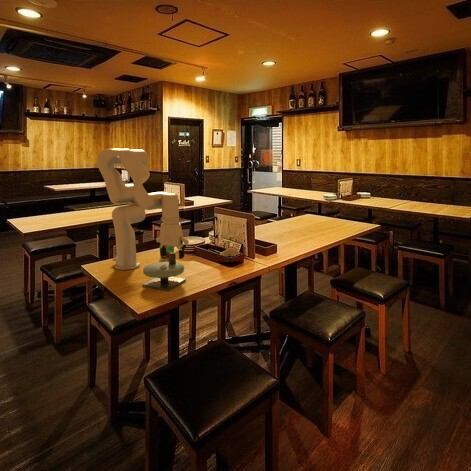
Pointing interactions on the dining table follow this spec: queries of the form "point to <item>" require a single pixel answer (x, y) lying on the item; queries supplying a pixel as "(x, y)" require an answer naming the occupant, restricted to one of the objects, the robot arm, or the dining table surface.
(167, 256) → the food container
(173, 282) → the wheel stand
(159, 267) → the handwheel
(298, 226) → the dining table surface
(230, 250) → the decorative item
